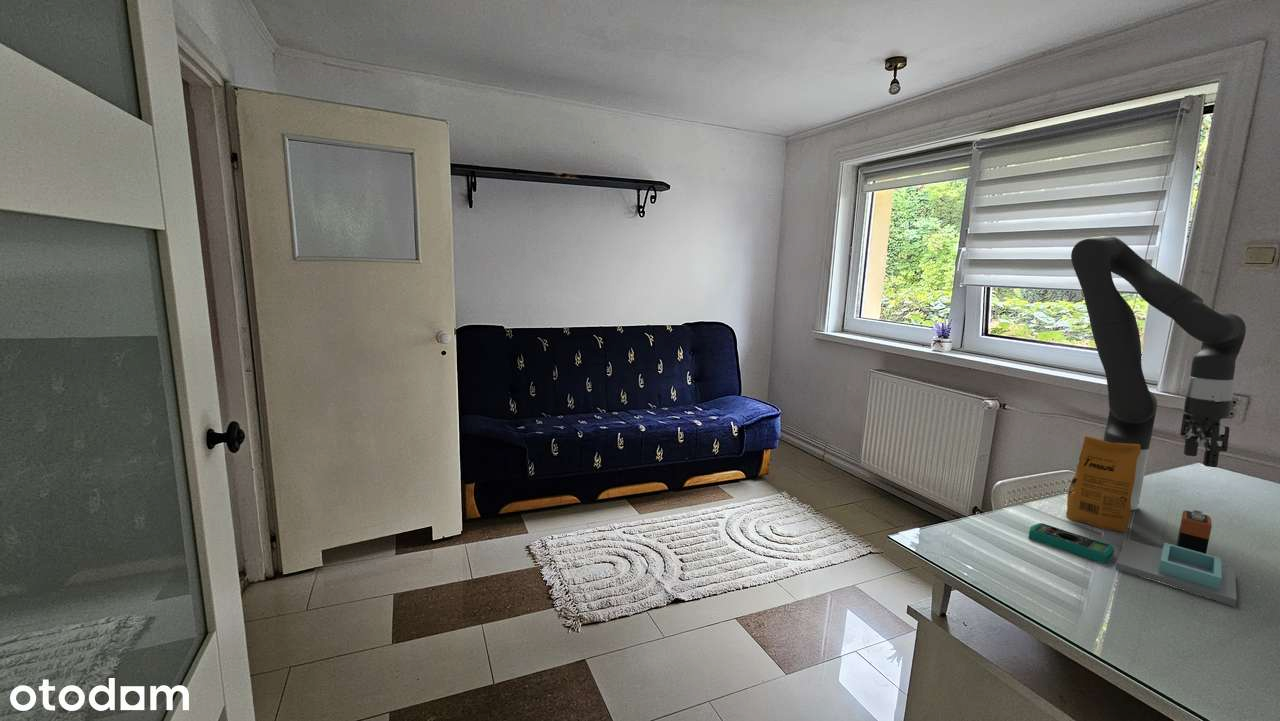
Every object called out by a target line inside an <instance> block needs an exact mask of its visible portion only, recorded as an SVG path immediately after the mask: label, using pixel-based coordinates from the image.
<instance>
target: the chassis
mask: <svg viewBox="0 0 1280 721" xmlns="http://www.w3.org/2000/svg"><path fill="white" fill-rule="evenodd" d="M1115 570H1117V571H1121V572H1123V571H1124V572H1123V573H1126V572H1127V574H1129V573H1130V575H1133V574H1135V575H1134V576H1136V575H1139V576H1142V577H1145V578H1150V579H1153V580H1156V581H1160V582H1163V583H1166V584H1169V585H1172V586H1175V587H1177V588H1180V589H1184V590H1186V591H1188V592H1187V593H1189V592H1192V593H1196V594H1199V595H1202V596H1206V597H1209V598H1211V599H1213V600H1212V601H1214V600H1216V601H1215V602H1218V601H1219V602H1218V603H1222V604H1224V605H1227V604H1228V605H1227V606H1230V605H1231V607H1233V606H1234V608H1236V604H1237V601H1238V600H1237V586H1236V585H1237V584H1236V569H1233V568H1231V567H1230V568H1229V567H1226V566H1223V565H1222V558H1221V557H1219V556H1214V555H1212V554H1208V553H1206V554H1205V553H1201V552H1197V551H1194V550H1190V549H1186V548H1183V547H1179V546H1177V544H1176V545H1175V544H1171V543H1167V542H1163V547H1162V548H1159V547H1155V546H1152V545H1148V544H1145V543H1141V542H1138V541H1134V540H1131V539H1127V538H1125V539H1124V541H1123V545H1122V548H1121V550H1120V553H1119V555H1118V558H1117V561H1116V564H1115ZM1139 576H1138V577H1139ZM1142 577H1141V578H1142ZM1145 578H1144V579H1145ZM1177 588H1176V589H1177ZM1180 589H1179V590H1180ZM1186 591H1185V592H1186ZM1192 593H1191V594H1192ZM1196 594H1195V595H1196ZM1199 595H1198V596H1199ZM1202 596H1201V597H1202ZM1211 599H1210V600H1211Z"/></svg>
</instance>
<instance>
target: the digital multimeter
mask: <svg viewBox="0 0 1280 721" xmlns="http://www.w3.org/2000/svg"><path fill="white" fill-rule="evenodd" d="M1028 539H1031V540H1034V541H1037V542H1038V543H1042V544H1045V545H1047V546H1051V547H1054V548H1058V549H1061V550H1063V551H1066V552H1068V553H1072V554H1075V555H1077V556H1081V557H1083V558H1085V559H1088V560H1091V561H1095V562H1098V563H1100V564H1104V565H1105V564H1107V563H1109V562H1110V561H1111V560H1112V558H1113V556H1114V552H1115V547H1114V546H1113V545H1112V544H1110V543H1108V542H1104V541H1099V540H1096V539H1094V538H1090V537H1087V536H1084V535H1080V534H1078V533H1074V532H1071V531H1067V530H1065V529H1062V528H1059V527H1056V526H1053V525H1049V524H1046V523H1044V522H1039V523H1036V524H1034V525H1031V526H1030V528H1029V531H1028Z"/></svg>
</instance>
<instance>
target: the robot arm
mask: <svg viewBox="0 0 1280 721" xmlns="http://www.w3.org/2000/svg"><path fill="white" fill-rule="evenodd" d="M1070 253H1071V254H1070V260H1071V263H1072V267H1073V270H1074V272H1075V276H1076V278H1077V280H1078V283H1079V285H1080V288H1081V292H1082V293H1083V297H1084V302H1085V307H1086V311H1087V314H1088V318H1089V323H1090V324H1089V325H1090V329H1091V333H1092V337H1093V340H1094V344H1095V348H1096V350H1097V353H1098V357H1099V360H1100V362H1101V365H1102V367H1103V370H1104V373H1105V378H1106V385H1107V395H1108V406H1109V407H1108V408H1109V410H1108V416H1107V423H1106V426H1105V430H1104V436H1103V440H1104V441H1107V442H1111V443H1128V444H1140V446H1141V447H1140V448H1141V452H1140V455H1139V457H1138V458H1137V465H1136V473H1135V481H1134V487H1133V490H1132V496H1131V511H1137V510H1138V509H1139V505H1140V500H1141V494H1142V489H1143V483H1144V478H1145V473H1146V467H1147V462H1148V456H1149V450H1150V445H1151V440H1152V436H1153V430H1154V425H1155V418H1156V413H1157V408H1158V400H1157V397H1156V396H1155V395H1154V394H1153V393H1152V392H1151V391H1150V390H1149V387H1148V384H1147V382H1146V378H1145V376H1144V371H1143V365H1142V346H1141V344H1142V343H1141V336H1140V331H1139V326H1138V322H1137V320H1136V319H1137V318H1136V315H1135V313H1134V310H1133V309H1132V307H1131V306H1130V304H1129V303H1128V302H1127V300H1126V299H1125V298H1124V297H1123V296H1122V295H1121V293H1120V292H1119V291H1118V289H1117V287H1116V285H1115V283H1114V280H1113V279H1114V278H1113V276H1112V273H1113V274H1115V275H1117V276H1119V277H1120V278H1122V279H1124V280H1125V281H1126V282H1128V283H1129V284H1130V285H1131V287H1133V288H1134V290H1135V291H1136V292H1137V294H1138V295H1139V296H1140V297H1141V299H1143V300H1144V301H1145V302H1146V303H1147V304H1149V305H1150V306H1151V307H1154V309H1156V310H1157V311H1159V312H1161V313H1162V314H1163V315H1166V316H1167V317H1169V318H1170V319H1172V320H1173V321H1174V322H1175V323H1176V324H1177V325H1178V326H1179V327H1180V328H1181V329H1182V330H1184V331H1185V333H1187V334H1188V335H1189V336H1191V337H1192V338H1194V339H1195V340H1198V341H1199V342H1201V346H1200V349H1199V352H1197V353H1196V354H1195V355H1194V356H1193V358H1192V361H1191V368H1190V373H1189V375H1190V376H1189V379H1188V382H1187V385H1186V394H1185V399H1184V400H1185V402H1184V408H1183V411H1184V412H1183V414H1182V420H1181V427H1180V432H1179V435H1180V436H1181V437H1183V440H1184V447H1183V455H1185V456H1187V457H1196V456H1197V455H1198V449H1199V441H1200V442H1201V443H1202V444H1203V445H1204V449H1205V450H1204V455H1203V462H1202V465H1203V466H1205V467H1208V468H1209V467H1210V468H1217V467H1218V462H1219V457H1220V455H1219V454H1220V453H1223V452H1224V453H1226V452H1228V447H1229V438H1230V427H1229V426H1228V425H1227V426H1224V425H1221V420H1222V419H1228V418H1229V417H1230V416H1231V410H1232V404H1233V396H1234V377H1235V370H1236V361H1237V358H1238V356H1239V354H1240V351H1241V349H1242V346H1243V343H1244V341H1245V338H1246V331H1247V330H1246V329H1247V327H1246V324H1245V321H1244V320H1243V318H1242V317H1240V316H1239V315H1237V314H1235V313H1229V312H1221V313H1220V312H1217V311H1215V310H1214V309H1212V308H1211V307H1209V305H1207V304H1205V303H1204V300H1203V298H1202V297H1201V296H1200V295H1198V294H1196V293H1195V292H1194V291H1191V290H1190V289H1188V288H1187V287H1185V286H1184V285H1182V284H1180V283H1178V282H1176V280H1173V279H1172V278H1170V277H1169V276H1167V275H1165V274H1164V273H1163V272H1161V271H1159V270H1158V269H1156V268H1155V267H1154V266H1152V265H1151V264H1150V263H1149V262H1147V261H1146V260H1145V259H1144V258H1142V257H1141V256H1140V255H1139V254H1137V253H1136V251H1134V250H1133V249H1132V248H1131V247H1129V245H1128V244H1126V243H1125V242H1124V241H1122V240H1121V239H1120V238H1118V237H1116V236H1112V235H1111V236H1110V235H1104V236H1103V235H1102V236H1095V237H1086V238H1083V239H1081V240H1079V241H1078V242H1077V243H1076V244H1075V245H1074V246H1073V248H1072V250H1071V252H1070Z"/></svg>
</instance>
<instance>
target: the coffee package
mask: <svg viewBox="0 0 1280 721" xmlns="http://www.w3.org/2000/svg"><path fill="white" fill-rule="evenodd" d="M1140 447H1141V446H1140V444H1128V443H1111V442H1107V441H1104V439H1101V438H1096V437H1093V436H1089V435H1085V437H1084V440H1083V443H1082V448H1081V451H1080V454H1079V457H1078V460H1079V461H1078V463H1077V466H1076V472H1074V476H1073V477H1072V480H1071V483H1070V485H1069V488H1068V493H1067V498H1066V501H1067V502H1066V505H1067V506H1066V512H1065V513H1066V517H1067V518H1068V519H1069V520H1070V521H1074V522H1078V523H1079V522H1080V523H1087V524H1089V525H1091V526H1093V527H1095V528H1099V529H1102V530H1108V531H1109V530H1110V531H1114V532H1115V531H1116V532H1121V533H1125V532H1126V531H1127V529H1128V528H1129V526H1130V521H1131V511H1132V510H1131V496H1132V490H1133V487H1134V481H1135V473H1136V465H1137V458H1138V457H1139V455H1140V452H1141V448H1140Z"/></svg>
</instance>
